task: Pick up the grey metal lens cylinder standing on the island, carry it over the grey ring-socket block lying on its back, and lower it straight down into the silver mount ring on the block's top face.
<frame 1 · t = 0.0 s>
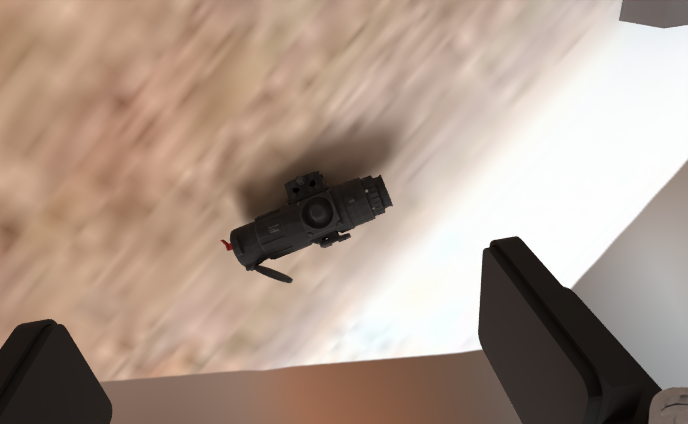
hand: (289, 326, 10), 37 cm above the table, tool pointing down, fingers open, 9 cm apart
night vision scope: (306, 203, 51), on the table
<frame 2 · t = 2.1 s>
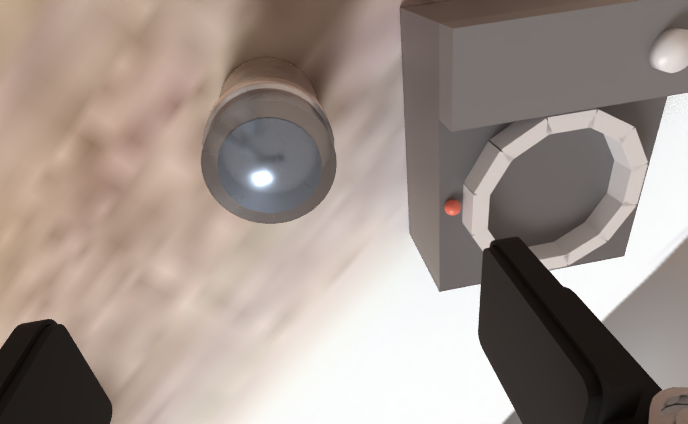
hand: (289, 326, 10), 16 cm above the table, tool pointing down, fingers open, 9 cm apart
grey ring-socket block: (494, 121, 26), on the table
lens: (269, 106, 24), on the table
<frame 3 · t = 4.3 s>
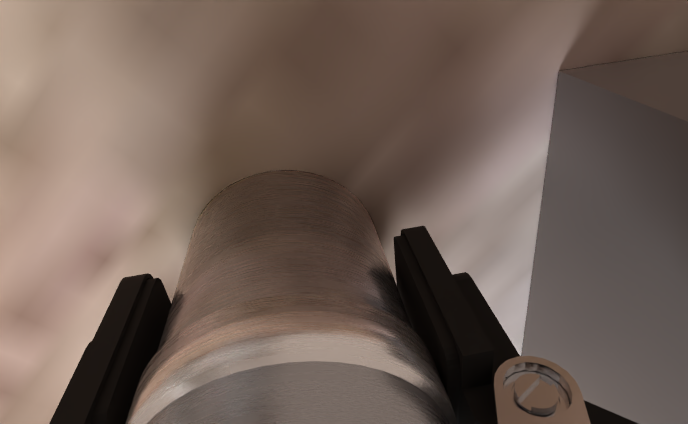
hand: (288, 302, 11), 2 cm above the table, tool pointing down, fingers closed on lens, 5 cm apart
grey ring-socket block: (687, 259, 15), on the table
lens: (286, 254, 12), on the table, touching gripper
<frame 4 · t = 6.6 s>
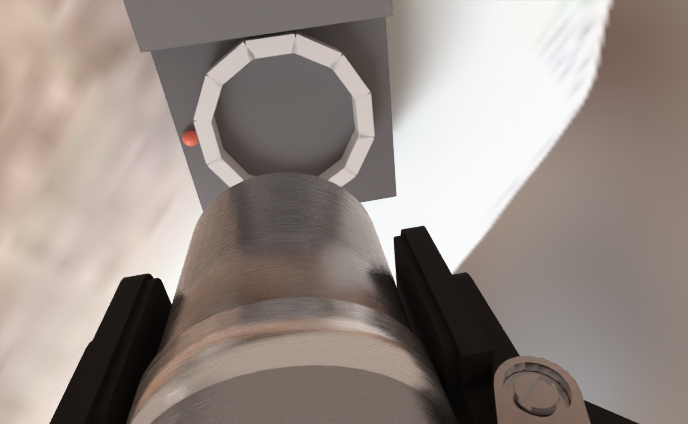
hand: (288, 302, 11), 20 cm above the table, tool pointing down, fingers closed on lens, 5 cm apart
grey ring-socket block: (279, 67, 27), on the table
lens: (286, 256, 12), point 18 cm above the table, touching gripper
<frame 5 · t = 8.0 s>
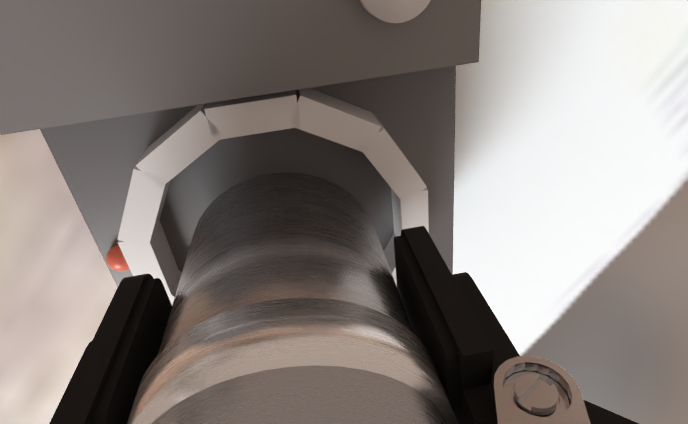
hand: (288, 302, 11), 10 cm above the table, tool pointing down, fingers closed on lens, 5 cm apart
grey ring-socket block: (273, 119, 18), on the table
lens: (287, 256, 12), point 8 cm above the table, touching gripper
when the fingers open (8 cm above the table, at t = 9.0 s): lens stays where it is, resting on grey ring-socket block.
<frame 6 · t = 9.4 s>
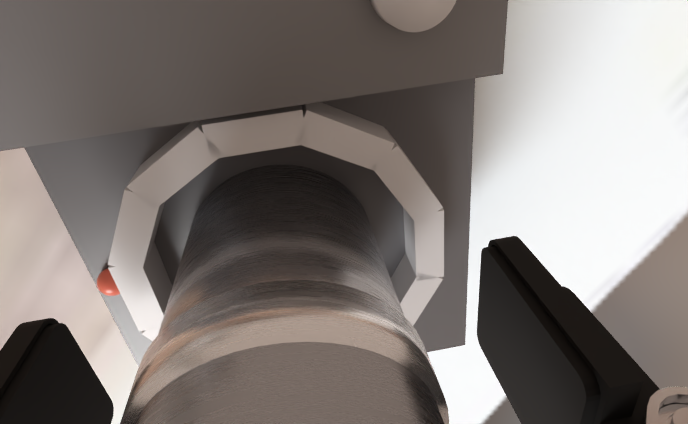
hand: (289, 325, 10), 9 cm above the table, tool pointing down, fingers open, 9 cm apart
grey ring-socket block: (276, 129, 17), on the table
lens: (283, 247, 13), point 6 cm above the table, touching grey ring-socket block
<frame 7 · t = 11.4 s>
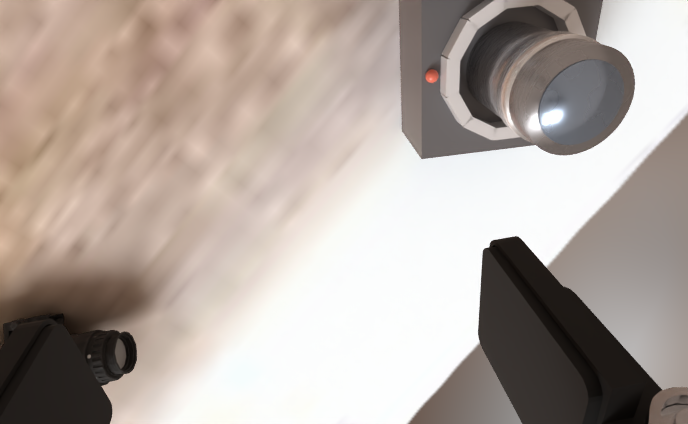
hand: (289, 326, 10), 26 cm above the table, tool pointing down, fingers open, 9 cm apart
grey ring-socket block: (474, 29, 32), on the table
lens: (506, 66, 27), point 6 cm above the table, touching grey ring-socket block
night vision scope: (49, 338, 42), on the table
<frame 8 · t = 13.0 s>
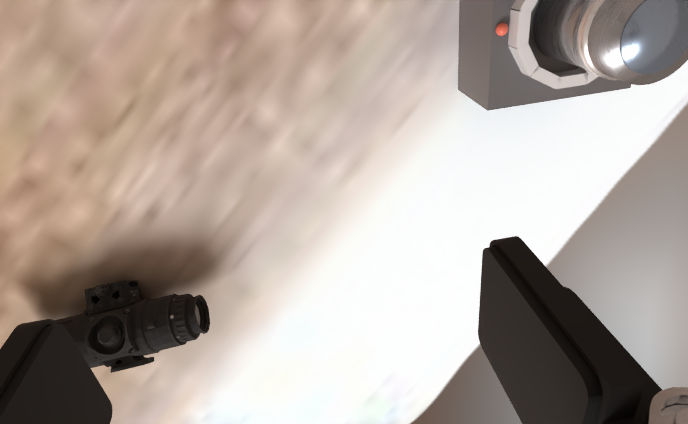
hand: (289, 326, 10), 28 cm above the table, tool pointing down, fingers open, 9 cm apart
lens: (569, 18, 30), point 6 cm above the table, touching grey ring-socket block
night vision scope: (121, 305, 44), on the table
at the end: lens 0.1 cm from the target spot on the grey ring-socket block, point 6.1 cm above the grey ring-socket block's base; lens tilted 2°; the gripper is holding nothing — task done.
